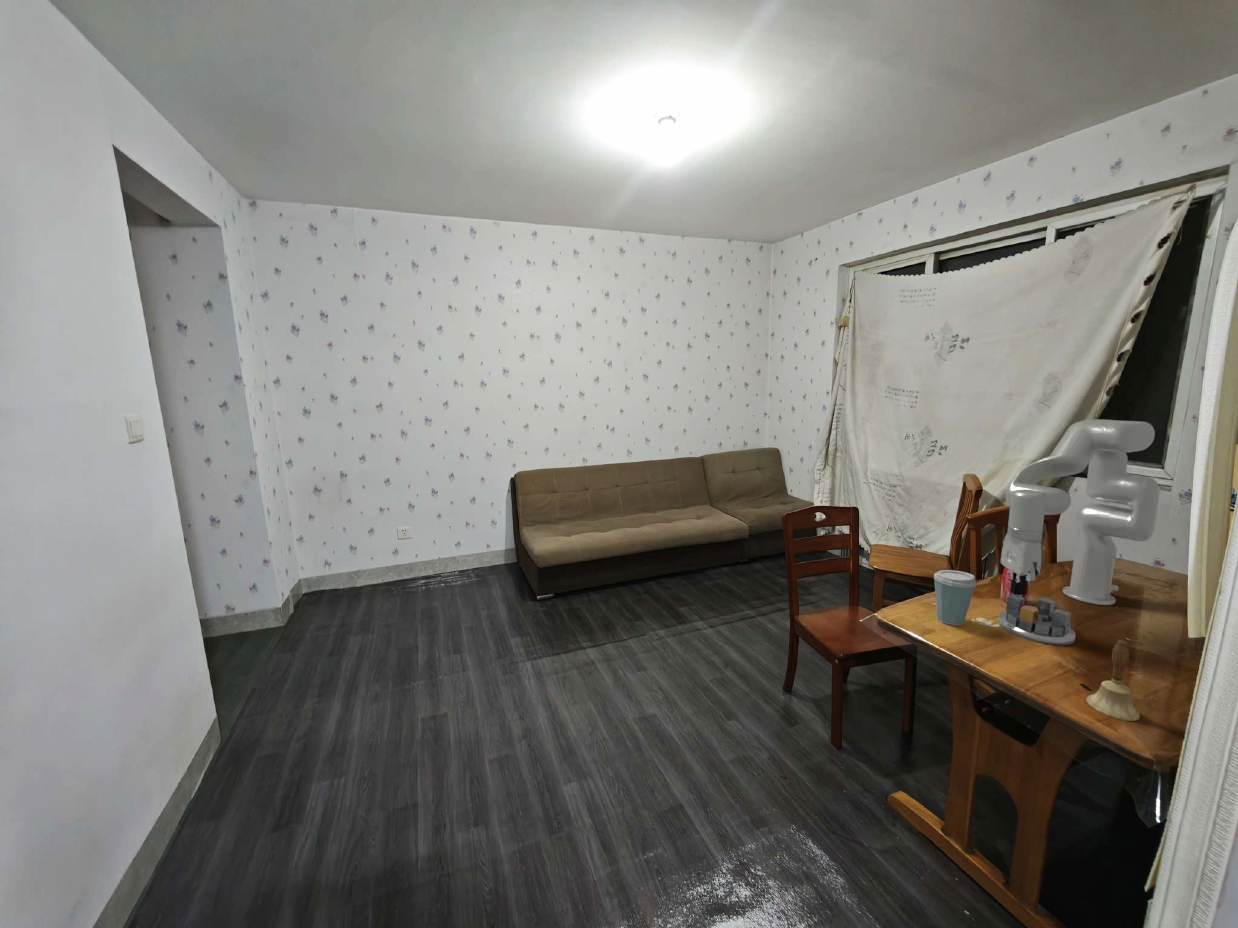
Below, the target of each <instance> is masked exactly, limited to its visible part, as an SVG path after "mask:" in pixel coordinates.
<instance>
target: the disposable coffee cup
mask: <svg viewBox="0 0 1238 928" xmlns="http://www.w3.org/2000/svg"><path fill="white" fill-rule="evenodd" d="M933 579H934V589H935V591H934V593H935V604H936V605H935V606H936V608H935V609H936V616H937V617H936V618H937V620H938V621H940V622H941V623H943V624H946V625H948V626H949V625H950V626H955V627H956V626H957V627H958V626H959V627H960V626H962V625H963V623H965V620H966V617H967V614H968V611H969V607H970V605H971V602H972V597H973V596H974V595H973V594H974V592H975V589H976V587H977V581H976V578H975V574H972V573H969V572H966V571H961V570H952V569H951V570H950V569H945V570H944V569H943V570H939V571H936V572H935V573H934V574H933Z"/></svg>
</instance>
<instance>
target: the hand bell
mask: <svg viewBox="0 0 1238 928" xmlns="http://www.w3.org/2000/svg"><path fill="white" fill-rule="evenodd" d="M1129 659H1130V650H1129V647H1128V642H1127V641H1125V640H1122V639H1119V640H1117V643H1116V644H1115V645H1114V647H1113V648H1112V650H1111V661H1112V664H1113V668H1112V673H1111V680H1104V681H1102V682H1101V683H1100V686H1099V688H1098V690H1097V691H1096V692H1095V693H1094V694H1090V695H1088V696H1087V697H1086V699H1085V700H1086V704H1088V705H1089V706H1090V707H1091V708H1092V709H1093V710H1095V711H1096V712H1098V713H1100V714H1103V715H1105V716H1107V717H1110V718H1113V719H1116V720H1120V721H1124V722H1136V721H1138V720H1140V718H1141V716H1140V714H1139V712H1138V710H1137V709H1136V708H1135V707H1134V706H1133V704H1132V703H1133V702H1132V698H1131V689H1130V688H1129V687H1128V686H1126V685H1124V684H1123V683H1124V681H1123V680H1124V671H1125V668H1126V666H1127V665H1128V663H1129Z"/></svg>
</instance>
